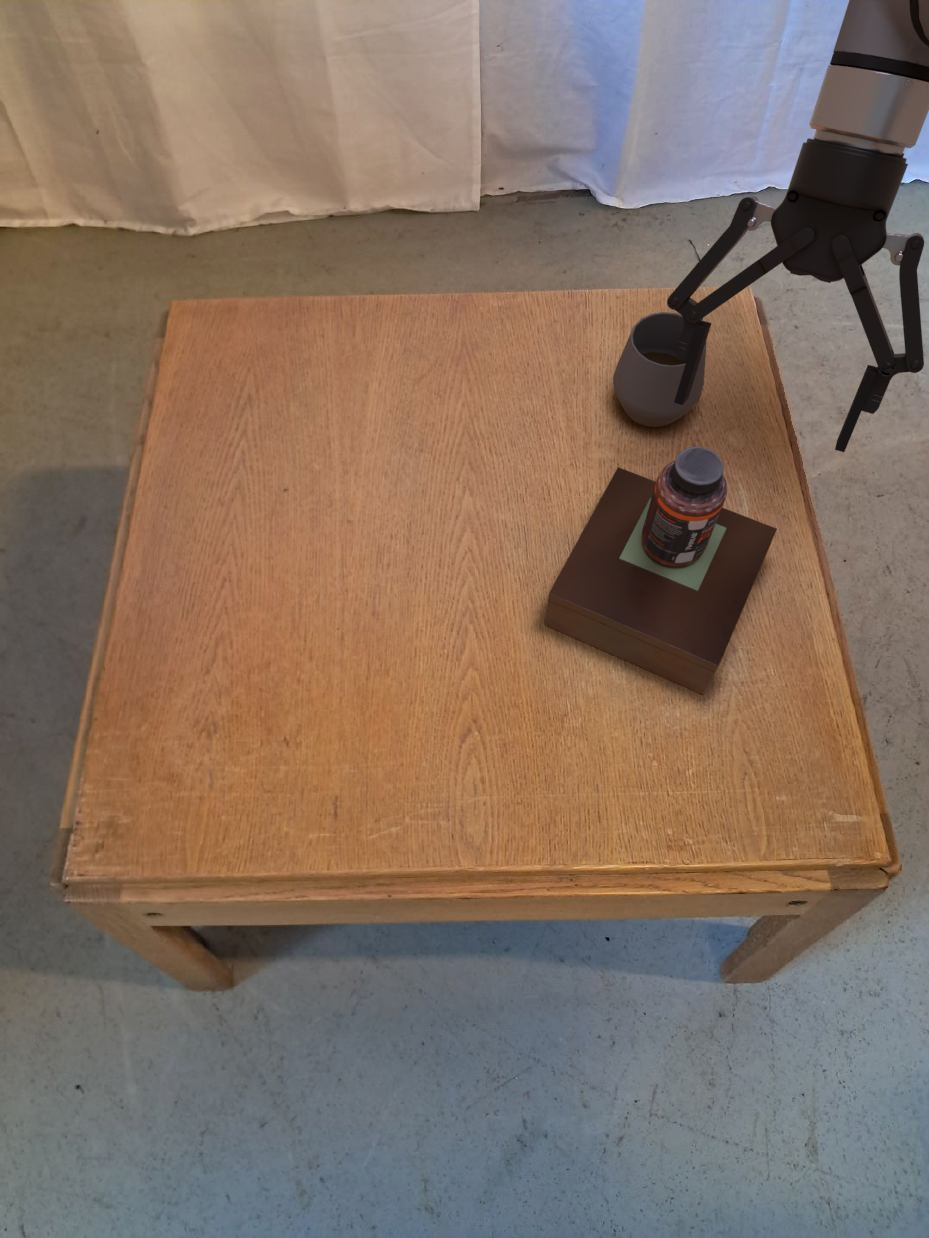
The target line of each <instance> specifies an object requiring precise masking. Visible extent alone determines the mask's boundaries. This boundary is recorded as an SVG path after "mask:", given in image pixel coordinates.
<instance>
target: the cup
mask: <svg viewBox="0 0 929 1238" xmlns="http://www.w3.org/2000/svg"><path fill="white" fill-rule="evenodd" d="M683 326H684V319H683V317H682V315H681V314H679V313H678V312H669V311H661V312H654V313H650V314H648V315H646V316H643V317H642V318H640V319H639V320H638V321H637V322H636V323H635V324H634V325H633V326H632V328H631V331H630V334H629V336H628V338H627V340H626V343H625V345H624V347H623V350H622V352H621V354H620V357H619V359H618V361H617V364H616V366H615V370H614V373H613V375H612V381H613V390H614V394H615V396H616V399H617V400H618V401H619V403H620V405H621V407H622V408H623V410H624V412H625V413H626V415H627V417H628V418H630V419H631V420H632V421H634V422H635V423H637V424H640V425H641V426H643V427H651V428H659V427H661V428H662V427H666V426H668V425H671V424H672V423H674V422H676V421H677V420H679V419H681V418H682V417H683V416H685V415H686V414H688V413H689V412H690V411H691V410H692V409H693V408H694V406H695V405H696V404H697V403H698V402H699V400H700V399H701V396H702V393H703V389H704V386H705V385H704V384H705V372H706V358H707V343H708V342H707V341H706V343H705V346H704V349H703V353H702V356H701V359H700V362H699V366H698V369H697V372H696V375H695V379H694V382H693V385H692V388H691V392H690V395H689V398H688V399H687V400H686V402H685V403H684V404H683V405H680V404H677V403H674V401H675V397H676V394H677V391H678V387H679V384H680V381H681V377H682V374H683V371H684V368H685V364H686V362H684V361H681V360H677V359H676V349H677V346H678V343H679V339H680V336H681V332H682V329H683Z"/></svg>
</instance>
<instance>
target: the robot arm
mask: <svg viewBox="0 0 929 1238" xmlns="http://www.w3.org/2000/svg"><path fill="white" fill-rule="evenodd" d="M835 41H836V42H835V44H834V47H833V51H832V52H833V53H832V56H831V59H830V62H829V65H827V68H826V71H825V74H824V77H823V79H822V83H821V87H820V90H819V92H818V96H817V98H816V102H815V105H814V108H813V111H812V114H811V117H810V121H809V126H810V128H811V129H813V130H815V132H814V135H813V138H809V137H808V138H807V139H806V142H804V141H803V142H802V145H801V147H800V151H799V154H798V158H797V160H796V163H795V167H794V169H793V173H792V176H791V179H790V182H789V185H788V188H787V191H786V194H785V196H784V198H783V200H782V202H781V203H780V204H779V205H778V206H777V207H776V206H773V205H772V204H771V205H770V204H768V203H765V202H763V201H760V200H759V199H758V197H756V196H755V195H750V196H746V197H743V198H742V199H740V201H739V203H738V205H737V206H736V210H735V212H734V215H733V216H732V219H731V222H730V224H729V226H728V227H727V228H726V229H725V231H724V232H723V233H722V234H721V235H720V237H719V238H718V239H717V240H716V241H715V243H713V244H712V246H711V247H710V248H709V249H708V250H707V251H706V253H705V254H704V255H703V256H702V257H701V259H700V260H699V261H698V262H697V263H696V264H695V266H694V267H693V268H692V269H691V271H690V272H689V273H688V274H687V275H686V276H685V278H683V280H682V281H681V282H680V283H679V285H677V287H676V288H675V289H674V290H673V292H672V293H671V294H670V295H669V296H668V298H667V301H666V305H667V307H668V308H669V309H670V310H674V311H675V312H676V313H678V314H680V315H682V317H683V319H684V326H683V329H682V332H681V336H680V339H679V343H678V346H677V349H676V359H677V360H681V361H684V362H686V364H685V368H684V371H683V374H682V377H681V381H680V384H679V387H678V391H677V394H676V397H675V401H674V403H677V404H680V405H683V404H684V403H685V402H686V400H687V399H688V398H689V395H690V392H691V388H692V385H693V382H694V379H695V375H696V372H697V369H698V366H699V362H700V359H701V356H702V353H703V349H704V346H705V343H706V342H707V340H708V336H709V333H710V329H711V327H712V322H709V321H705V320H704V318H705V317H706V316H708V315H709V314H710V313H712V312H714V311H715V310H717V309H718V308H720V307H721V306H723V304H725V303H726V302H728V301H729V300H730V299H732V298H734V297H735V296H736V295H738V294H739V293H741V292H742V291H743V290H745V289H746V288H748V287H749V286H751V285H752V284H754V283H755V282H757V281H758V280H759V279H761V278H762V277H763V276H765V275H767V274H768V273H769V272H771V271H772V270H774V269H775V268H777V267H778V266H779V265H781V264H782V265H783V267H784V268H785V269H786V270H787V271H788V272H789V274H792V275H796V276H799V277H800V276H801V277H802V276H803V277H804V276H805V277H806V276H811V277H813V278H815V279H817V280H819V281H820V282H824V283H829V284H831V283H834V282H839V281H842V280H844V282H845V285H846V287H847V290H848V292H849V294H850V297H851V299H852V301H853V304H854V306H855V309H856V312H857V315H858V317H859V320H860V324H861V325H862V328H863V331H864V333H865V336H866V339H867V341H868V344H869V346H870V349H871V352H872V354H873V357H874V359H875V363H876V366H875V365H871V364H867V366H866V368H865V370H864V373H863V376H862V378H861V380H860V382H859V386H858V388H857V390H856V392H855V395H854V398H853V401H852V403H851V405H850V408H849V410H848V413H847V415H846V418H845V420H844V423H843V425H842V427H841V430H840V431H839V432H840V433H839V435H838V437H837V438H836V439H837V440H836V443H835V448H834V450H835V451H838V452H841V453H845V451H846V449H847V447H848V445H849V442H850V439H851V438H852V435H853V433H854V430H855V427H856V425H857V423H858V420H859V418H860V415H861V413H862V412H864V413H868V414H871V415H874V414H875V413H876V412H877V411H878V410H879V408H880V407H881V405H882V401H883V400H884V397H885V394H886V392H887V389H888V387H889V385H890V383H891V380H892V378H893V377H895V376H896V375H897V374H902V373H912V374H917V373H919V372H921V371H922V370H923V368H924V366H925V359H924V345H923V332H922V319H921V305H920V292H919V279H918V268H919V264H920V261H921V257H922V253H923V251H924V247H925V239H924V236H923V235H922V234H921V233H918V232H913V233H911V234H902V233H893V232H892V233H891V232H887V220H888V218H889V215H890V212H891V210H892V207H893V205H894V202H895V200H896V197H897V194H898V192H899V189H900V186H901V183H902V182H903V179H904V176H905V174H906V171H907V168H908V166H909V163H907V160H908V159H907V157H904V156H905V153H904V152H905V149H912V148H913V147H915V146H916V145H917V142H918V140H919V137H920V134H921V131H922V129H923V126H924V124H925V121H926V119H927V116H928V114H929V0H848V3H847V7H846V9H845V13H844V16H843V19H842V23H841V25H840V29H839V32H838V35H837V38H836V40H835ZM765 222H770V228H771V230H772V233H773V237H774V241H775V243H776V246H775V247H774V248H773V249H771V250H769V251H768V252H766V253H765V254H764V255H763V256H761V257H760V258H758V259H757V260H755V261H754V262H752V263H751V264H750V265H749V266H747V267H746V268H745V269H743V270H741V271H740V272H738V274H736V275H735V276H733V277H732V278H731V279H729V280H728V281H726V282H725V283H724V284H722V285H721V286H719V287H718V288H716V289H715V290H714V291H712V292H711V293H710V294H708V295H707V296H705V297H704V298H703V299H701V300H699V301H698V302H697V301H696V300H695V299H693V298H692V296H693V295H694V294H695V292H696V291H697V290H699V288H700V287H701V286H702V285H703V284H704V282H705V281H706V280H707V279H708V278H709V277H710V275H711V274H712V273H713V272H714V271H715V270H716V269H717V268H718V266H719V265H720V264H721V263H722V261H723V260H724V259H725V258H726V257H727V256H728V255H729V253H731V251H733V249H734V248H735V247H736V246H737V244H738V243H739V242H740V241H741V240H742V239H743V237H744V236H745V235H746V234H747V231H749V232H753V231H755V230H758V229H759V228H760V227H761V225H762V224H763V223H765ZM882 249H885V250H887V251H888V252H889V255H890V257H889V259H890V263H892V264H893V265H894V266H899V271H898V273H899V275H898V279H899V280H898V281H899V294H900V305H901V317H902V326H903V328H902V329H903V341H904V342H903V343H904V352H903V353H895V351H894V348H893V346H892V343H891V340H890V338H889V335H888V332H887V330H886V328H885V327H886V326H885V325H884V321H883V319H882V316H881V314H880V311H879V308H878V306H877V303H876V299H875V297H874V295H873V292H872V290H871V287H870V284H869V281H868V278H867V275H866V272H865V270H864V267H863V265H864V264H865V263H866V262H868V260H870V259H871V258H872V257H874V256H875V255H877V254H878V253H879V252H880V251H882Z"/></svg>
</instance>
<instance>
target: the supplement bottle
mask: <svg viewBox="0 0 929 1238" xmlns="http://www.w3.org/2000/svg"><path fill="white" fill-rule="evenodd" d="M724 468H725V467H724V462H723V460H722V459H721V457H720V456H719V454H717V453H716V452H715V451H713V450H711V449H709V448H707V447H703V446H690V447H687V448H684V449H682V450H681V451H680V452H679V453H678V454H677V455H676V456H675V459H674V460H673V461H670V462H669V463H667V464H666V465H665V466H664V467H663V468H662V470H660V472H659V474H658V476H657V478H656V481H655V482H656V485H655V488H654V491H653V495H652V498H651V502H650V505H649V509H648V512H647V516H646V519H645V523H644V526H643V530H642V543H643V546H644V548H645V551H646V552H647V553H648V554H649V556H650V557H652V558H653V559H654V560H656V561H657V562H659V563H661V564H664V565H667V566H671V567H681V566H686V565H690V564H692V563H694V562H695V561H696V560H698V559H699V558H700V557H701V555H702V554H703V552H704V550H705V549H706V547H707V545H708V542H709V539H710V537H711V534H712V532H713V529H714V527H715V524H716V522H717V519H718V517H719V515H720V512H721V510H722V508H724V504H725V503H726V502H725V501H726V499H727V496H728V483H727V481H726V478H725V476H724V475H723V474H724Z"/></svg>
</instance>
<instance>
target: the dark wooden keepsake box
mask: <svg viewBox="0 0 929 1238" xmlns="http://www.w3.org/2000/svg"><path fill="white" fill-rule="evenodd" d="M655 485H656V481H655V480H652V479H651V478H647V477H645V476H643V475H640V474H637V473H635V472H632V471H630V470H627V469H624V468H622V467H620V466H618V467H617V468H616V470H615V472H614V473H613V475H612V477H611V479H610V480H609V482H608V484H607V486H606V488H605V490H604V492H603V494H602V495H601V497H600V499H599V500H598V502H597V504H596V506H595V508H594V510H593V512H592V514H591V515H590V517H589V519H588V521H587V523H586V525H585V526H584V528H583V530H582V532H581V534H580V535H579V538H577V541H576V542H575V544H574V546H573V548H572V550H571V551H570V554H569V556H568V557H567V559H566V561H565V563H564V565H563V567H562V568H561V570H560V571H559V574H558V576H557V577H556V579H555V581H554V583H553V584H552V586H551V589H550V590H549V592H548V596H547V604H546V611H545V619H544V626H545V627H548V628H550V629H553V630H555V631H557V632H559V633H562V634H564V635H566V636H568V637H571V638H573V639H576V640H577V641H580V642H582V643H584V644H587V645H589V646H591V647H594V648H596V649H598V650H601V651H603V652H604V653H607V654H609V655H611V656H614V657H615V658H619V659H621V660H623V661H625V662H628V663H630V664H632V665H634V666H637V667H639V668H642V669H643V670H646V671H648V672H650V673H652V674H655V675H657V676H660V677H662V678H664V679H665V680H668V681H671V682H673V683H675V684H678V685H679V686H682V687H685V688H687V689H689V690H691V691H693V692H695V693H697V694H700V695H705V693H706V691H707V689H708V687H709V685H710V683H711V682H712V680H713V678H714V676H715V674H716V672H717V670H718V668H719V667H720V665H721V662H722V659H723V657H724V655H725V652H726V650H727V648H728V645H729V643H730V641H731V638H732V636H733V633H734V632H735V629H736V627H737V624H738V621H739V620H740V617H741V615H742V612H743V610H744V607H745V606H746V603H747V601H748V598H749V596H750V594H751V592H752V589H753V587H754V585H755V582H756V580H757V577H758V575H759V573H760V570H761V568H762V565H763V563H764V561H765V558H766V556H767V554H768V551H769V549H770V547H771V544H772V542H773V540H774V537H775V535H776V532H777V530H778V528H776V527H774V526H771V525H769V524H766V523H763V522H761V521H758V520H756V519H754V518H751V517H749V516H745V515H743V514H741V513H738V512H735V511H732V510H729V509H727V508H725V507H722V510H721V512H720V515H719V517H718V519H717V522H716V524H715V527H714V529H713V532H712V534H711V537H710V539H709V542H708V545H707V547H706V549H705V550H704V552H703V554H702V555H701V557H700V558H699V559H698V560H696V561H695V562H694V563H692V564H690V565H686V566H681V567H671V566H667V565H664V564H661V563H659V562H657V561H656V560H654V559H653V558H652V557H650V556H649V554H648V553H647V552H646V551H645V548H644V546H643V543H642V530H643V526H644V523H645V519H646V516H647V512H648V509H649V505H650V502H651V498H652V495H653V491H654V488H655Z"/></svg>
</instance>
